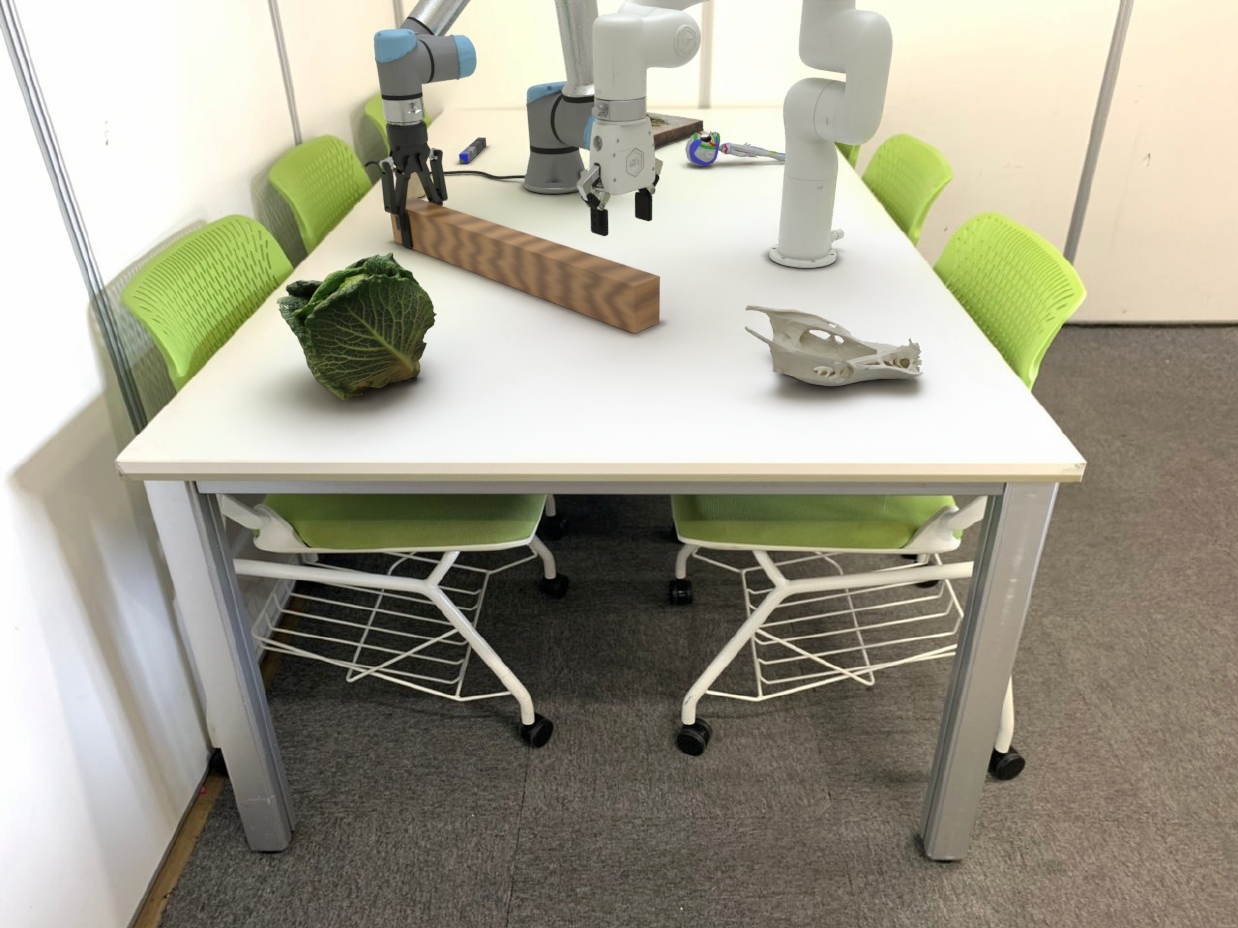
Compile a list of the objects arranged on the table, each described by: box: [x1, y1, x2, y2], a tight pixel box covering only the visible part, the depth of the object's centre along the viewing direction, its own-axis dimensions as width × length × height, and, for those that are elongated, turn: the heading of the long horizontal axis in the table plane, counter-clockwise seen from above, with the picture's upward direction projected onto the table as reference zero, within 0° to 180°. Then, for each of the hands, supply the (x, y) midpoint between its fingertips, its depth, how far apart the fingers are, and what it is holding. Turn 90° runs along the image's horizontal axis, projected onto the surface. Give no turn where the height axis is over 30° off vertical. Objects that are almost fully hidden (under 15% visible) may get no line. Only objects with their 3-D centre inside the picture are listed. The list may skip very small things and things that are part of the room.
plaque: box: [646, 111, 705, 150], centre depth 257 cm, size 30×7×30 cm
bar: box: [389, 197, 661, 335], centre depth 161 cm, size 67×6×8 cm, turn 46°
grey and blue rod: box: [458, 136, 487, 164], centre depth 242 cm, size 2×2×20 cm
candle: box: [403, 172, 426, 198], centre depth 207 cm, size 6×6×10 cm
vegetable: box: [276, 251, 438, 401], centre depth 124 cm, size 20×19×20 cm
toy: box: [684, 130, 785, 167], centre depth 229 cm, size 10×8×30 cm
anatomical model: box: [744, 304, 924, 387], centre depth 126 cm, size 15×9×25 cm
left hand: (421, 242), depth 180 cm, fingers closed on bar, 6 cm apart
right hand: (622, 226), depth 138 cm, fingers open, 9 cm apart
